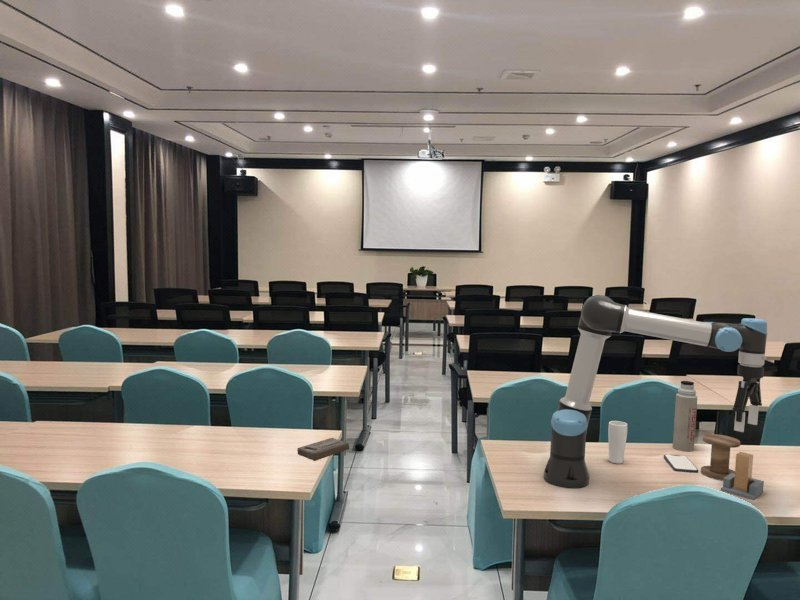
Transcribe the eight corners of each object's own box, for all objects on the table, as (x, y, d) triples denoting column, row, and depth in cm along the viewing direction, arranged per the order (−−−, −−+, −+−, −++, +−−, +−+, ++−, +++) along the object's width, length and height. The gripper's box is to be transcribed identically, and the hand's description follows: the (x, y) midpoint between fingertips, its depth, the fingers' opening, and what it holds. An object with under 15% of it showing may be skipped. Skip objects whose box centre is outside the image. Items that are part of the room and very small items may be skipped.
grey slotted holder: (753, 499, 196) (754, 488, 196) (720, 490, 203) (721, 479, 203) (763, 492, 203) (763, 481, 203) (731, 483, 210) (731, 472, 210)
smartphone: (699, 475, 220) (686, 459, 236) (699, 470, 220) (686, 455, 235) (673, 473, 221) (662, 457, 237) (674, 468, 221) (662, 453, 237)
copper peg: (746, 492, 200) (749, 457, 199) (733, 488, 203) (736, 454, 202) (750, 489, 203) (753, 454, 202) (737, 485, 206) (740, 451, 205)
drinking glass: (626, 465, 226) (629, 426, 225) (607, 463, 227) (610, 424, 226) (623, 459, 232) (626, 421, 231) (605, 458, 234) (607, 420, 233)
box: (349, 450, 233) (349, 442, 233) (314, 461, 221) (314, 453, 220) (331, 444, 241) (331, 437, 240) (296, 455, 228) (296, 447, 228)
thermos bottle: (698, 451, 246) (702, 383, 244) (682, 452, 243) (686, 384, 241) (684, 444, 253) (688, 379, 251) (668, 446, 251) (672, 379, 249)
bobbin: (731, 483, 210) (733, 446, 209) (695, 473, 219) (697, 438, 218) (742, 475, 219) (745, 439, 218) (707, 466, 227) (710, 432, 226)
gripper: (751, 370, 189) (745, 437, 190) (775, 363, 206) (769, 423, 208) (725, 367, 194) (720, 431, 196) (750, 359, 211) (745, 418, 213)
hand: (745, 427), depth 202 cm, fingers open, 13 cm apart
